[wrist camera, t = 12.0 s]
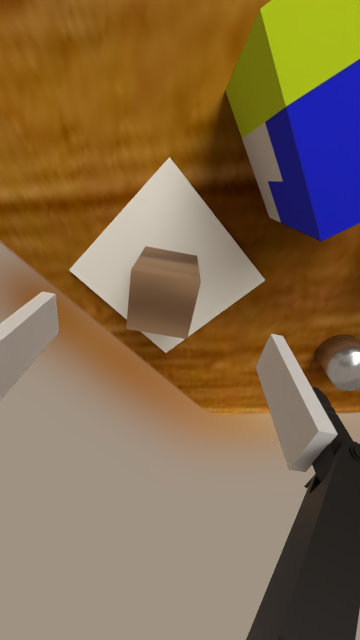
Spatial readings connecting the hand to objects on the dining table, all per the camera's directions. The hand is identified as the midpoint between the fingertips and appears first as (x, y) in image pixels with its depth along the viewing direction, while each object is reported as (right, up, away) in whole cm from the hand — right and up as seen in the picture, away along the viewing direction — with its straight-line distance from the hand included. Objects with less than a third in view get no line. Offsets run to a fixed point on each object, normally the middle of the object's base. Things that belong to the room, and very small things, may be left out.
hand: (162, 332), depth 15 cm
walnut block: (0, +5, +9) cm, 11 cm away
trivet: (0, +6, +10) cm, 12 cm away
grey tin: (+20, -3, +15) cm, 25 cm away
